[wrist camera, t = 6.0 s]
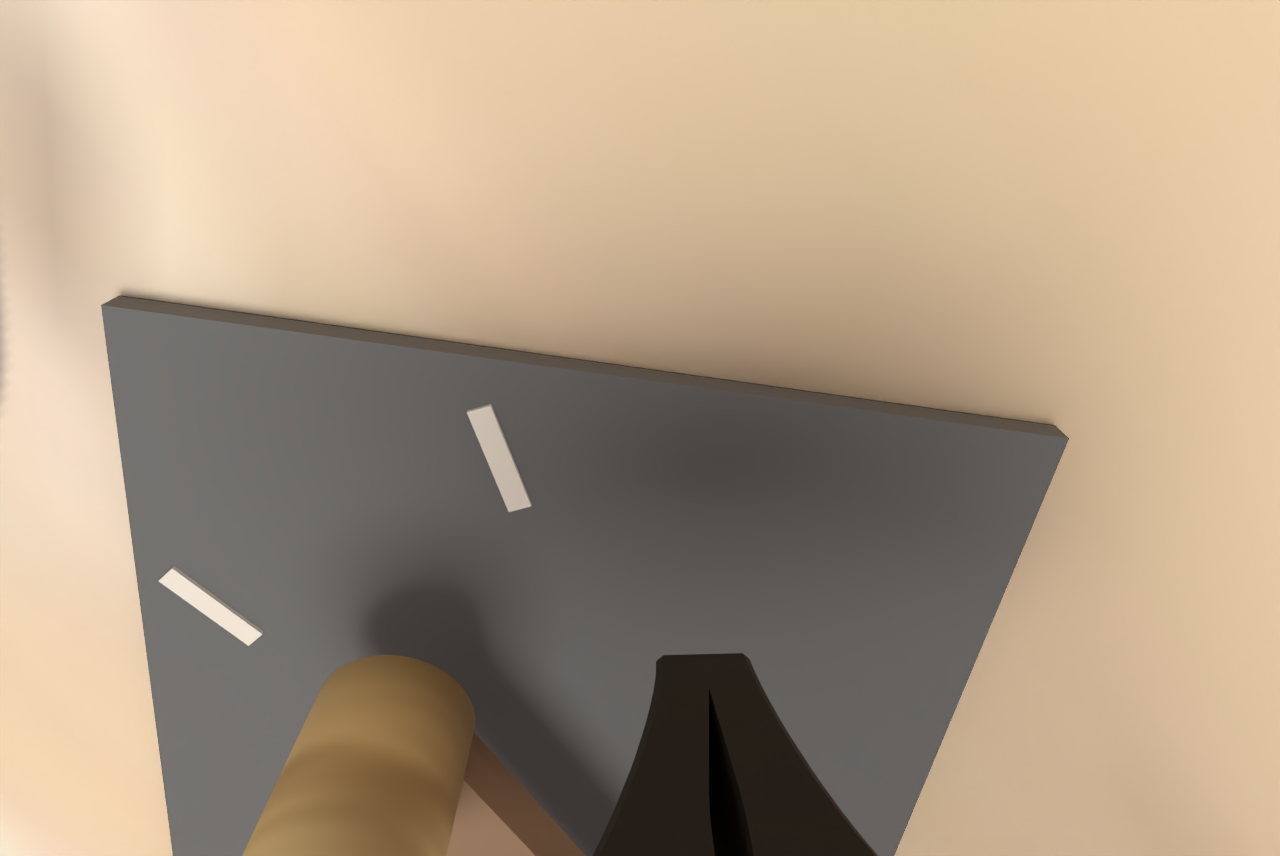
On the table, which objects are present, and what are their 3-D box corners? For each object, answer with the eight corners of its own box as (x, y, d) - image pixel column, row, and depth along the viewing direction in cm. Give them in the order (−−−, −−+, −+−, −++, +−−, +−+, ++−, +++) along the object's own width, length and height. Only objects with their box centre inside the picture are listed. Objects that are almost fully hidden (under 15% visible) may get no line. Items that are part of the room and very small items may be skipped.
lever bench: (814, 1015, 26) (832, 1111, 24) (199, 966, 25) (155, 1064, 23) (1055, 425, 17) (1121, 487, 15) (119, 295, 16) (31, 341, 14)
